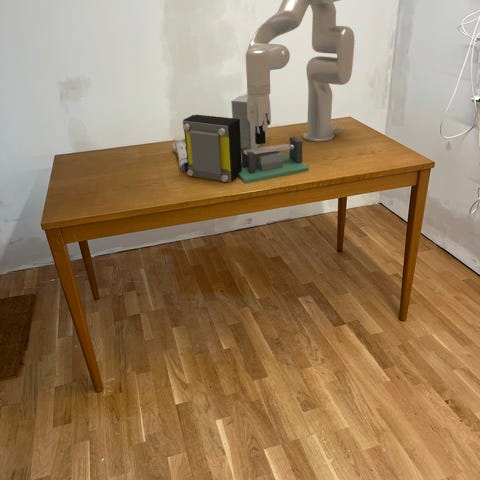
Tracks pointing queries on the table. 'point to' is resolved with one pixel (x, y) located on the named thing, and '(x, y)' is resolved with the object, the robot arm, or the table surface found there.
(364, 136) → the table surface
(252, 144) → the hard drive box
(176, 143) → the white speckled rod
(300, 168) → the board
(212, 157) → the electrical component
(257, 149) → the grey long flat bar
